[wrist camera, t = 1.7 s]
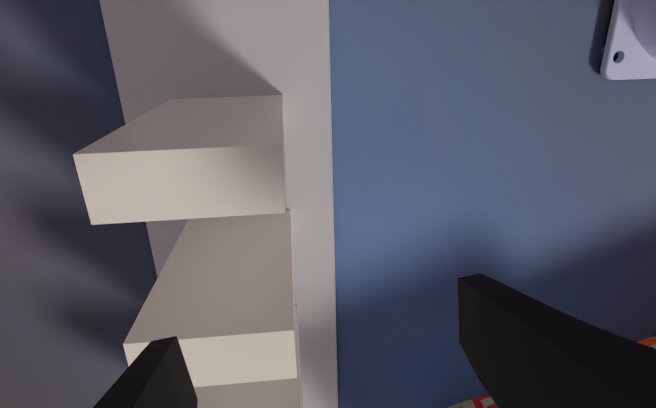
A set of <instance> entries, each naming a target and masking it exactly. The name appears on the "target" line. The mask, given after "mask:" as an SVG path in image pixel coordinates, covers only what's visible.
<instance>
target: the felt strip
mask: <svg viewBox="0 0 656 408" xmlns="http://www.w3.org/2000/svg"><path fill="white" fill-rule="evenodd" d="M99 1H100V6H101V11H102V15H103V20H104V25H105V30H106V35H107V39H108V44H109V49H110V54H111V58H112V63H113V68H114V73H115V78H116V82H117V87H118V92H119V97H120V101H121V106H122V111H123V116H124V121H125V125H126V124H127V123H129V122H131V121H133V120H134V119H136V118H138V117H140V116H142V115H143V114H145V113H147V112H149V111H150V110H152V109H154V108H156V107H157V106H159V105H161V104H163V103H165V102H166V101H168V100H170V99H181V98H206V97H232V96H257V95H283V101H284V117H285V132H286V210H291V224H292V240H293V267H294V297H295V304H297V316H298V332H299V356H300V379H301V383H302V393H303V408H338V385H337V341H336V298H335V255H334V212H333V169H332V126H331V83H330V40H329V0H99ZM187 221H188V219H180V220H163V221H147V222H146V226H147V231H148V235H149V240H150V245H151V250H152V254H153V259H154V264H155V269H156V274H157V278H158V276H159V274H160V272H161V271H162V269H163V267H164V265H165V263H166V261H167V259H168V257H169V255H170V253H171V252H172V250H173V248H174V246H175V244H176V242H177V240H178V238H179V236H180V234H181V232H182V231H183V229H184V227H185V225H186V223H187Z"/></svg>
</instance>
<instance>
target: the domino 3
mask: <svg viewBox="0 0 656 408" xmlns="http://www.w3.org/2000/svg"><path fill="white" fill-rule="evenodd" d="M295 328H296V358H297V378H291V379H280V380H269V381H258V382H247V383H236V384H225V385H214V386H203V387H194V389H195V392H196V395H197V398H198V403H197V408H302V403H301V379H300V356H299V332H298V316H297V304H295Z"/></svg>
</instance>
